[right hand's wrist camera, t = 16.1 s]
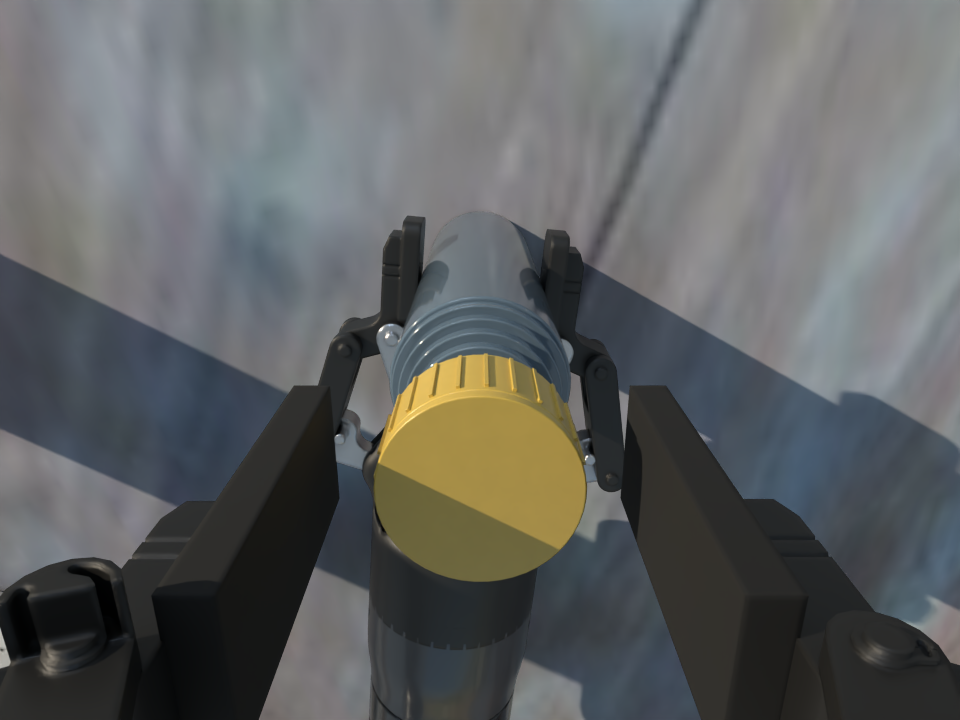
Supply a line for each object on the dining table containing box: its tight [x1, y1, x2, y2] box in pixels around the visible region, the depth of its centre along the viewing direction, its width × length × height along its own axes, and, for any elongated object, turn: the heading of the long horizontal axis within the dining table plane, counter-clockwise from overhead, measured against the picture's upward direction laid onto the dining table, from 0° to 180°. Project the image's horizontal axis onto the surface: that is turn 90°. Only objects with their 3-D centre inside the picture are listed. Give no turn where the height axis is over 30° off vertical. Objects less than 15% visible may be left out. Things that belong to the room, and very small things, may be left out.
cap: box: [374, 353, 587, 582], centre depth 14 cm, size 4×4×2 cm
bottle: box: [389, 212, 571, 407], centre depth 23 cm, size 5×5×20 cm
